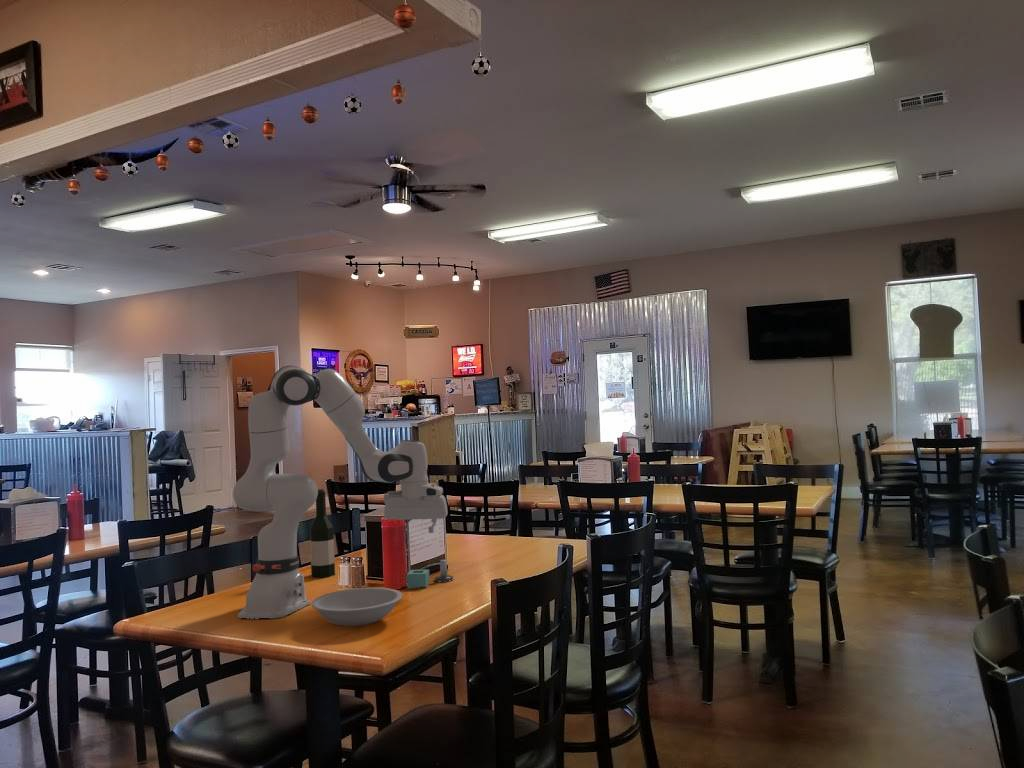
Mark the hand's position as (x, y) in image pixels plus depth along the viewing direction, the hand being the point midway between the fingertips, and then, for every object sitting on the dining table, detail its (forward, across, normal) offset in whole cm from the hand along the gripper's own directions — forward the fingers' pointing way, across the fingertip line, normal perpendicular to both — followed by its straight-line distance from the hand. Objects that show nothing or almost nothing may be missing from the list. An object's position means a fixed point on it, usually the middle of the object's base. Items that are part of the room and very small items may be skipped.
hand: (416, 533), depth 242 cm
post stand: (+17, +7, +7) cm, 20 cm away
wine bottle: (+17, -38, +19) cm, 46 cm away
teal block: (+17, 0, 0) cm, 17 cm away
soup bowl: (+17, -8, -40) cm, 44 cm away
